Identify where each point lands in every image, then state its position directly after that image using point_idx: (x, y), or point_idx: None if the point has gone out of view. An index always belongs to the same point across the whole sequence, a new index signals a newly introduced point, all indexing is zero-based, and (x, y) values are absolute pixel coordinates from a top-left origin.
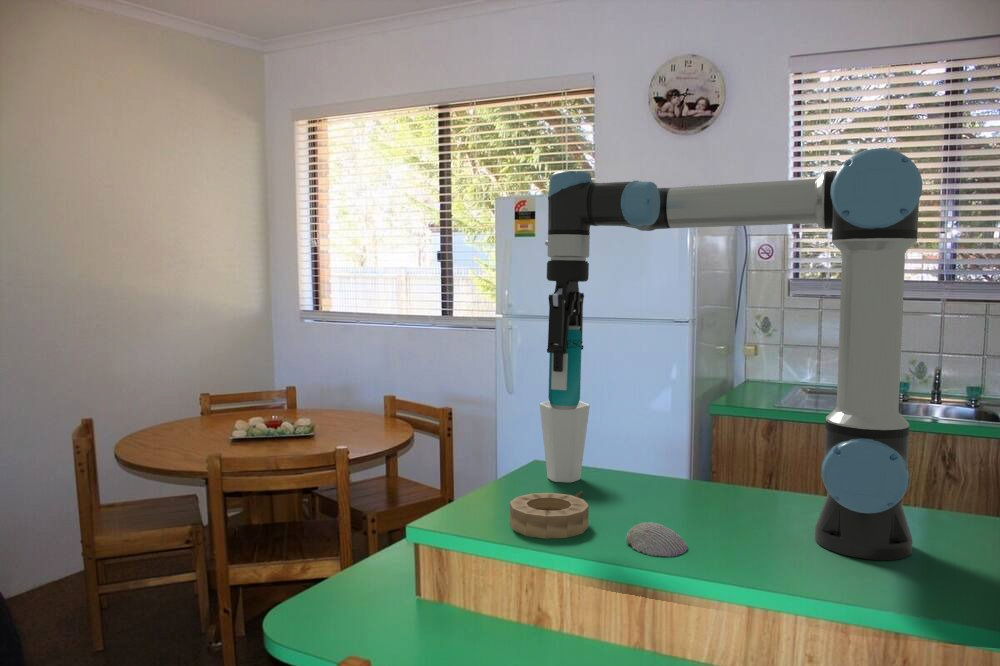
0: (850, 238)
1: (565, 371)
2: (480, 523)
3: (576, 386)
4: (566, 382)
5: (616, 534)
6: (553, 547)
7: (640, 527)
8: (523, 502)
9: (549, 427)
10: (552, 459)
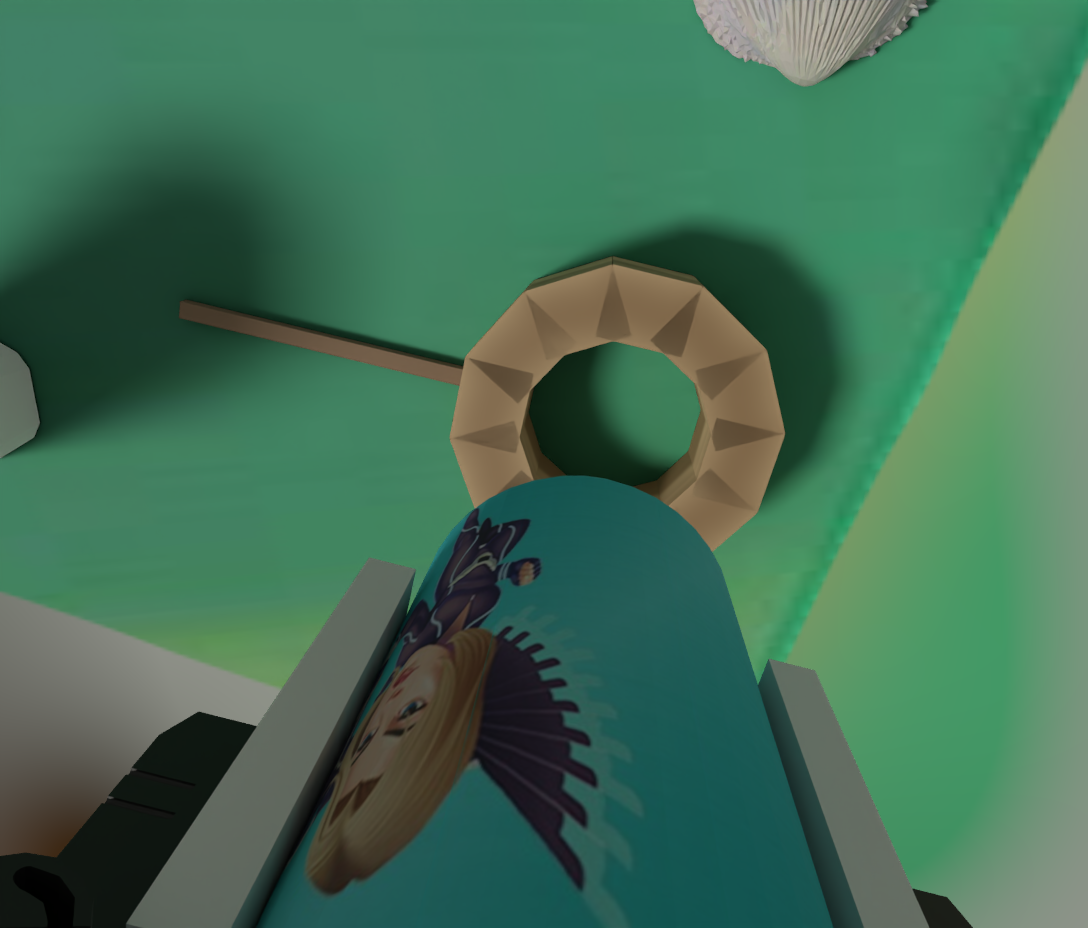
0: None
1: (883, 844)
2: None
3: (687, 576)
4: (810, 718)
5: (688, 132)
6: (858, 377)
7: (853, 5)
8: None
9: None
10: None
